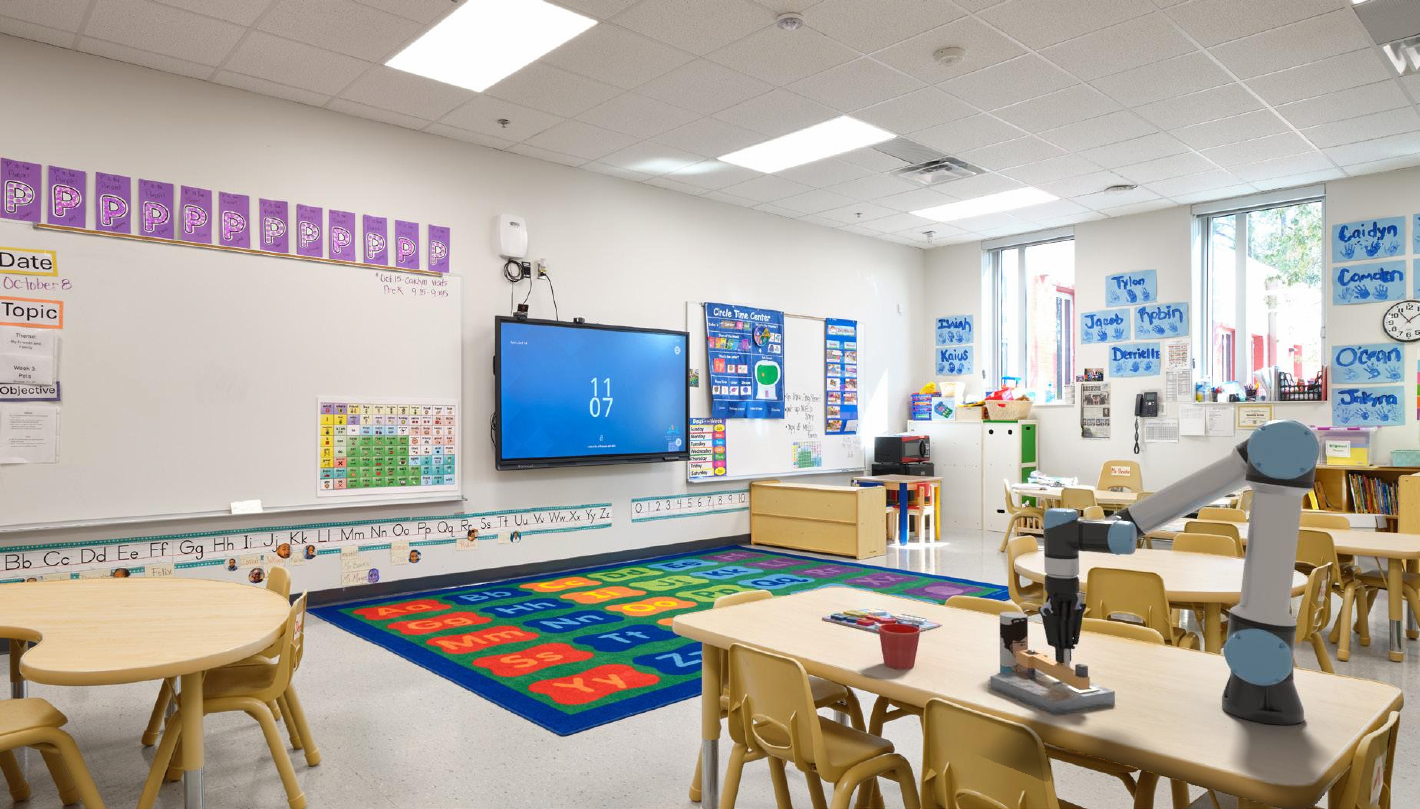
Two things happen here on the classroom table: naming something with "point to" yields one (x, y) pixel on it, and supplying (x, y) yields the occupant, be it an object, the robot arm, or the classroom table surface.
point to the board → (1050, 692)
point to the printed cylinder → (1012, 640)
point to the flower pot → (899, 645)
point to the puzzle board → (877, 620)
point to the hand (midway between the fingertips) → (1063, 675)
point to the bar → (1056, 669)
